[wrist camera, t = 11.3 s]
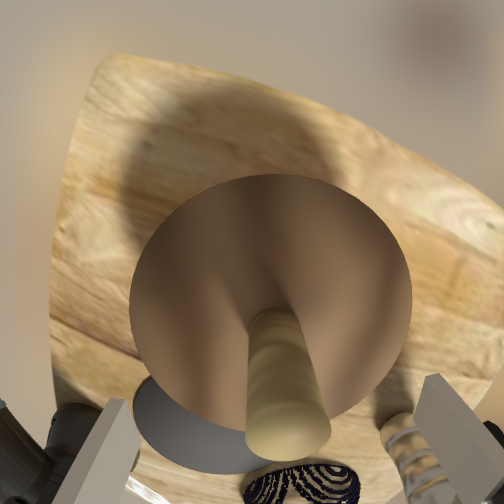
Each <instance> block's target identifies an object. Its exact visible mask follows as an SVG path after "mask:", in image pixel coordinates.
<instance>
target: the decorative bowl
mask: <svg viewBox="0 0 504 504" xmlns="http://www.w3.org/2000/svg"><path fill="white" fill-rule="evenodd" d="M311 466H314V467H315V470H316V471H317V472H318V473H319V475H320V476H322V478H324V479H325V480H326V481H328V482H330V484H338V485H343V484H345V483H348V482H349V480H350V479H351V478H352V477H353V478H352V481H351V485H350V486H349V487H348V488H346V489H344V490H342V489H341V490H334V491H332V490H333V488H329V487H326V486H325V485H322V483H323V481H321V480H320V478H318V477H315V476H314V472H313V473H312V470H310V468H309V467H311ZM320 466H324V467H325V469H326V471H327V472H328V473H329V474H331V476H338V477H344V476H346V475H347V472H348V475H347V476H348V477H347V479H345V480H344V481H333V480H331V479H329V477H327V476H324V473H322V472H321V470H320ZM330 466H333V467H339V468H341V469H342V470H341V471H340V472H335V470H333V469H332V468H331V467H330ZM302 467H303V470H305V472H307V471H308V472H307V474H308V475H310V476H311V478H312V479H313V481H315V482H317V484H318V485H320V487H321V489H322V490H323V491H324V490H326V492H329V494H337V495H343V494H345V493H349V492H350V491H351V492H350V494H348V495H345V496H344V497H341V498H332V497H328V496H325V493H322V492H321V491H320V490H318V489H317V488H315V487H313V485H311V484H310V482H308V483H307V481H308V479H306V477H305V476H304V471H302ZM293 469H294V470H297V472H300V473H299V478H298V479H299V480H302V481H303V483H305V485H304V487H306V489H307V488H308V489H310V491H311V493H312V494H313V496H317V498H320V499H321V500H325V499H331V500H341V501H339V502H337V503H321V502H320V501H317V500H314V499H313V498H312V497H310V496H311V494H309V493H308V491H306V490H304V488H302V485H301V484H299V482H297V484H296V480H297V477H295V474H293ZM286 470H287V474H286ZM290 470H291V475H290ZM282 471H283V478H282V483H284V484H282V486H281V490H280V492H279V495H278V497H279V499H277V500H276V502H275V504H283V500H284V498H285V496H286V494H287V491H288V490H286V488H288V485H289V481H290V480H288V476H290V479H292V482H291V484H293V487H295V486H296V488H295V490H297V491H298V492H299V493H300V496H302V497H304V498H305V499H307V501H312V502H313V504H342V503H341V502H342V501H347V500H348V501H347V502H346V504H358V502H359V501H358V500H359V498H360V496H359V495H360V489H361V488H360V485H361V484H360V482H359V479H358V478H359V477H358V475H357V474H356V472H354V471H351V470H350V469H349V468H348V467H343V466H336V465H330V464H325V463H324V464H315V465H312V464H309V465H307V464H306V465H303V466H301V465H300V466H297V467H296V466H295V467H290V468H287V469H286V468H284V469H283V470H278V471H275V472H272V473H269V474H268V473H267V474H266V475H265V476H262V477H261V478H258V479H257V480H256V481H253V482H252V483H251V484H250V485H248V486H247V489H246V490H245V494H244V495H243V498H244V502H245V504H257V503H258V501H259V500H260V499H262V496H265V495H264V492H265V490H266V488H267V487H268V486H269V484H270V487H269V489H268V491H267V495H266V497H265V498H264V500H263V502H262V503H260V504H264V503H265V501H266V500H267V497H268V496H269V494H270V490H272V483H273V480H274V476H275V480H276V481H275V482H274V484H273V488H275V489H274V490H272V492H271V494H270V497H268V501H267V502H266V504H271V502H272V500H273V499H274V497H275V495H276V493H277V488H278V484H279V481H280V473H281V474H282ZM352 474H353V475H352ZM271 475H272V476H271ZM269 476H271V483H270V481H268V480H270V477H269ZM303 476H304V477H303ZM264 477H265V483H264V486H263V484H262V483H263V479H264ZM255 483H256V484H255ZM254 484H255V486H254V488H253V490H252V491H251V490H250V489H251V488H250V487H252V486H253V485H254ZM284 485H285V486H286V487H284ZM262 486H263V490H262V492H261V494H260V495H259V497H258V499H257V500H255V501H254V502H253V503H251V501H252V500H254V499H255V498H256V497H257V496H258V494H259V492H260V490H261V489H262ZM354 489H355V490H354ZM301 490H302V492H301ZM355 492H356V493H355ZM306 495H307V496H308V497H306ZM320 495H324V496H320ZM248 500H249V501H248ZM278 502H279V503H278ZM258 504H259V503H258ZM343 504H345V503H343Z"/></svg>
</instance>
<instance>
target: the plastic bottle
mask: <svg viewBox="0 0 504 504" xmlns="http://www.w3.org/2000/svg"><path fill="white" fill-rule="evenodd" d="M413 416H414V414H411V413H400V414H397V415H395V416H393V417H391V418H390V419H389V420H387V421H386V422H385V424H384V425H383V427H382V429H381V432H380V440H381V444H382V446H383V448H384V449H385V451H386V452H387V453H388V454H389V455H390V457H391V459H392V460H393V462H394V464H395V466H396V467H397V469H398V472H399V475H400V478H401V480H402V483H403V487H404V491H405V496H406V501H407V504H453V501H454V497H455V492H456V491H455V490H454V488H453V486H452V484H451V483H450V481H449V479H448V478H447V476H446V474H445V472H444V471H443V469H442V467H441V466H440V464H439V462H438V461H437V459H436V457H435V455H434V454H433V452H432V450H431V449H430V447H429V446H428V444H427V442H426V441H425V439H424V437H423V436H422V434H421V432H420V431H419V429H418V428H417V426H416V424H415V423H414V421H413V420H412V419H413Z"/></svg>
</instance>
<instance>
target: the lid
mask: <svg viewBox="0 0 504 504" xmlns="http://www.w3.org/2000/svg"><path fill="white" fill-rule="evenodd" d="M411 312H412V286H411V280H410V274H409V269H408V266H407V263H406V260H405V257H404V254H403V252H402V250H401V248H400V246H399V244H398V242H397V240H396V238H395V237H394V235H393V234H392V233H391V231H390V230H389V228H388V227H387V226H386V224H385V223H384V222H383V221H382V220H381V219H380V218H379V217H378V216H377V214H376V213H375V212H374V211H373V210H372V209H370V208H369V207H368V206H367V205H365V204H364V203H363V202H361V201H360V200H359V199H357V198H356V197H354V196H353V195H351V194H349V193H347V192H345V191H343V190H342V189H340V188H338V187H335V186H333V185H330V184H327V183H325V182H322V181H319V180H316V179H311V178H306V177H301V176H296V175H281V174H268V175H256V176H249V177H244V178H240V179H235V180H231V181H228V182H225V183H223V184H220V185H217V186H215V187H212V188H210V189H208V190H206V191H204V192H202V193H200V194H199V195H197V196H195V197H193V198H192V199H190V200H188V201H187V202H186V203H185V204H183V205H182V206H181V207H179V208H178V209H177V210H175V211H174V212H173V213H172V214H171V215H170V216H169V217H168V218H167V219H166V220H165V221H164V222H163V223H162V224H161V225H160V226H159V227H158V229H157V230H156V232H155V233H154V234H153V236H152V237H151V239H150V240H149V241H148V243H147V245H146V246H145V248H144V250H143V252H142V254H141V256H140V258H139V260H138V263H137V266H136V269H135V272H134V275H133V279H132V284H131V290H130V299H129V315H130V323H131V330H132V334H133V338H134V341H135V345H136V348H137V350H138V352H139V355H140V357H141V359H142V361H143V363H144V365H145V366H146V368H147V370H148V371H149V373H150V375H151V376H152V377H153V378H154V380H155V381H156V382H157V384H158V385H159V386H160V387H161V388H162V389H163V390H164V391H165V392H166V393H167V394H168V395H169V396H170V397H171V398H172V399H173V400H175V401H176V402H177V403H178V404H180V405H181V406H182V407H184V408H185V409H187V410H188V411H190V412H192V413H193V414H195V415H197V416H199V417H201V418H203V419H205V420H207V421H209V422H212V423H214V424H217V425H220V426H223V427H226V428H231V429H235V430H240V431H246V434H245V440H246V444H247V446H248V447H249V449H250V450H251V451H252V452H253V453H255V454H256V455H258V456H260V457H262V458H265V459H268V460H273V461H293V460H298V459H302V458H305V457H307V456H310V455H312V454H314V453H315V452H317V451H318V450H320V449H321V448H322V447H323V446H324V445H325V444H326V443H327V441H328V440H329V438H330V435H331V425H330V421H329V420H330V419H332V418H334V417H336V416H338V415H340V414H342V413H344V412H345V411H347V410H349V409H350V408H352V407H353V406H354V405H356V404H357V403H359V402H360V401H361V400H363V399H364V398H365V397H366V396H367V395H368V394H369V393H371V392H372V391H373V390H374V389H375V388H376V386H377V385H378V384H379V383H380V382H381V381H382V380H383V379H384V377H385V376H386V375H387V373H388V372H389V370H390V369H391V368H392V366H393V364H394V363H395V361H396V359H397V357H398V355H399V353H400V352H401V349H402V347H403V344H404V342H405V339H406V336H407V333H408V329H409V325H410V320H411Z"/></svg>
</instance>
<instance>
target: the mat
mask: <svg viewBox="0 0 504 504" xmlns="http://www.w3.org/2000/svg"><path fill="white" fill-rule="evenodd" d="M134 419H135V422H136V425H137V427H138V429H139V431H140V433H141V435H142V436H143V438H144V439H145V440H146V441H147V442H148V444H149V445H150V446H151V447H152V448H154V449H155V450H156V451H157V452H158V453H160V454H161V455H162V456H164V457H165V458H167V459H169V460H170V461H172V462H174V463H176V464H178V465H181V466H183V467H186V468H189V469H192V470H195V471H200V472H204V473H211V474H241V473H246V472H251V471H255V470H258V469H261V468H263V467H266V466H268V465H270V464H272V463H274V462H275V461H273V460H268V459H265V458H262V457H260V456H258V455H256V454H255V453H253V452H252V451H251V450H250V449H249V447H248V446H247V444H246V440H245V434H246V431H240V430H235V429H231V428H226V427H223V426H220V425H217V424H214V423H212V422H209V421H207V420H205V419H203V418H201V417H199V416H197V415H195V414H193V413H192V412H190V411H188V410H187V409H185V408H184V407H182V406H181V405H180V404H178V403H177V402H176V401H175V400H173V399H172V398H171V397H170V396H169V395H168V394H167V393H166V392H165V391H164V390H163V389H162V388H161V387H160V386H159V385H158V384H157V382H156V381H155V380H154V378H153V377H152V378H151V379H150V380H149V381H147V382H146V383H145V384H144V385H143V387H142V388H141V389H140V391H139V393H138V395H137V397H136V399H135V403H134Z"/></svg>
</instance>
